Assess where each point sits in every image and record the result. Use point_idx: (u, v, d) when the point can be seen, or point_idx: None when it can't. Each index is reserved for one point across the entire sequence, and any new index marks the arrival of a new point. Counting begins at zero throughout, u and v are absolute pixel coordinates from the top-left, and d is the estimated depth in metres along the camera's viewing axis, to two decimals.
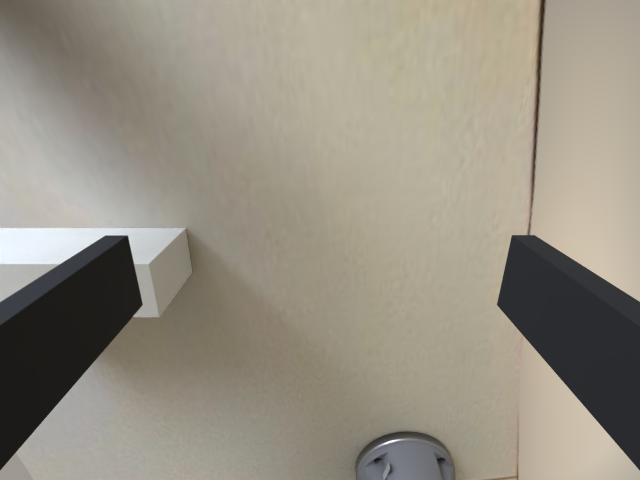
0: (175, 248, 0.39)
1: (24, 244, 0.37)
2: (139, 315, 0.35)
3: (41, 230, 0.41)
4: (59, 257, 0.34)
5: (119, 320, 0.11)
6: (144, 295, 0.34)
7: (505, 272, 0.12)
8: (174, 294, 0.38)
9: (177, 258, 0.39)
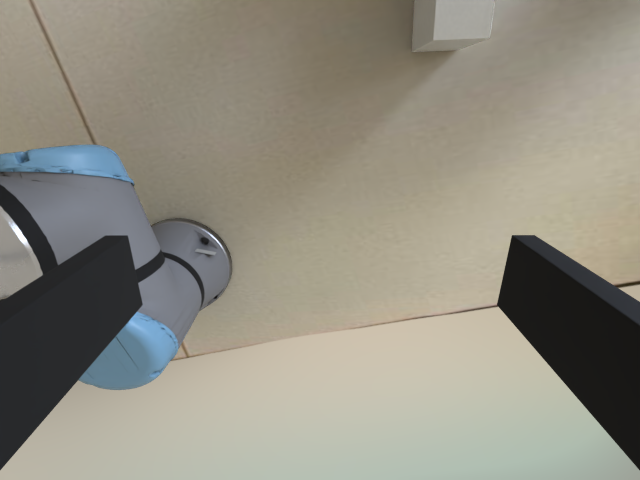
0: (458, 46, 0.42)
1: None
2: (437, 18, 0.36)
3: None
4: None
5: (118, 320, 0.11)
6: (458, 28, 0.36)
7: (505, 272, 0.12)
8: (425, 45, 0.40)
9: (448, 47, 0.42)
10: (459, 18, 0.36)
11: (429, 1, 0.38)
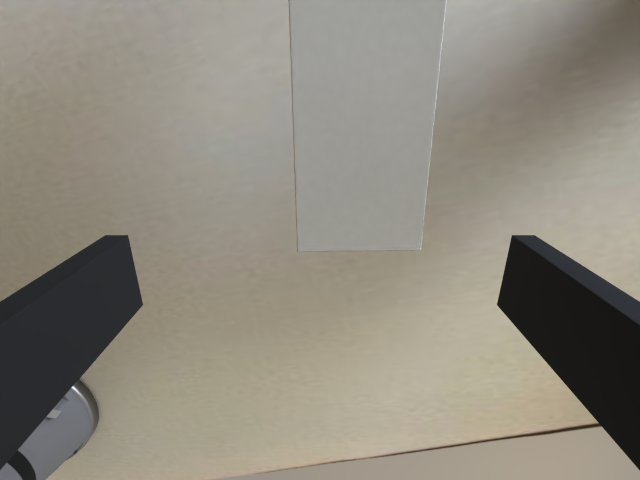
0: None
1: None
2: (301, 212, 0.16)
3: None
4: None
5: (119, 320, 0.11)
6: (350, 231, 0.16)
7: (505, 272, 0.12)
8: None
9: None
10: (350, 213, 0.16)
11: None
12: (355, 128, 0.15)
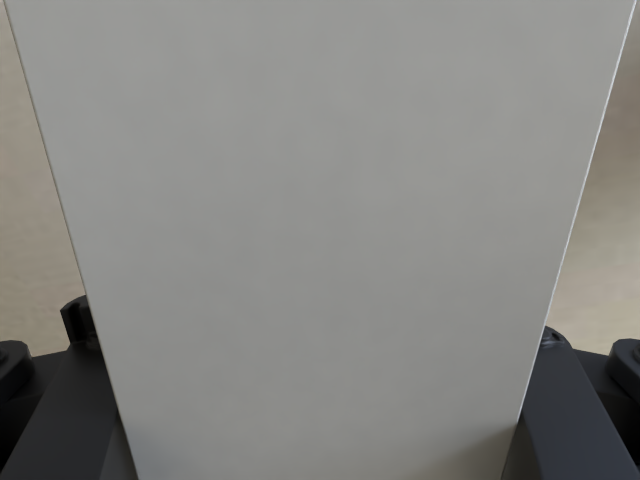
0: None
1: None
2: None
3: None
4: None
5: None
6: None
7: None
8: None
9: None
10: None
11: None
12: (295, 341, 0.05)
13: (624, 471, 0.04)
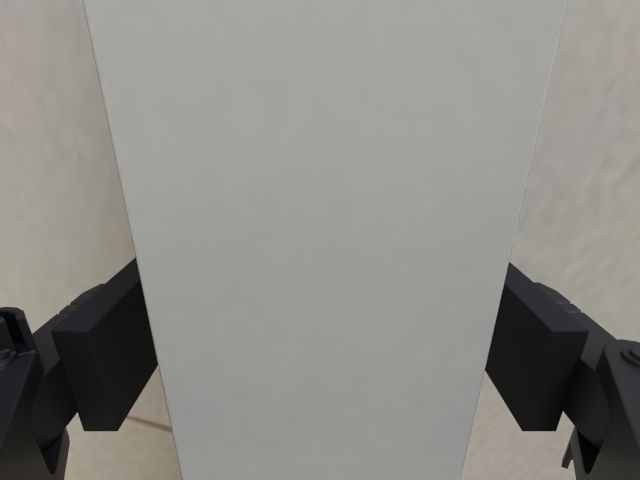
0: None
1: None
2: (188, 455, 0.07)
3: None
4: None
5: None
6: None
7: None
8: None
9: None
10: (297, 458, 0.07)
11: None
12: (303, 302, 0.06)
13: None
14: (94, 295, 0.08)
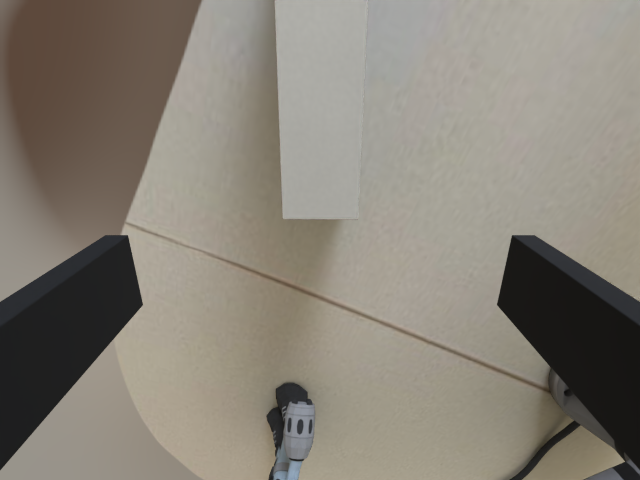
0: None
1: None
2: (284, 194, 0.27)
3: None
4: None
5: (118, 320, 0.11)
6: (314, 207, 0.27)
7: (505, 272, 0.12)
8: None
9: None
10: (314, 196, 0.27)
11: None
12: (316, 145, 0.25)
13: None
14: None
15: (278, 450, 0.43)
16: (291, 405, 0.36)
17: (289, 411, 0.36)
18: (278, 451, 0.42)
